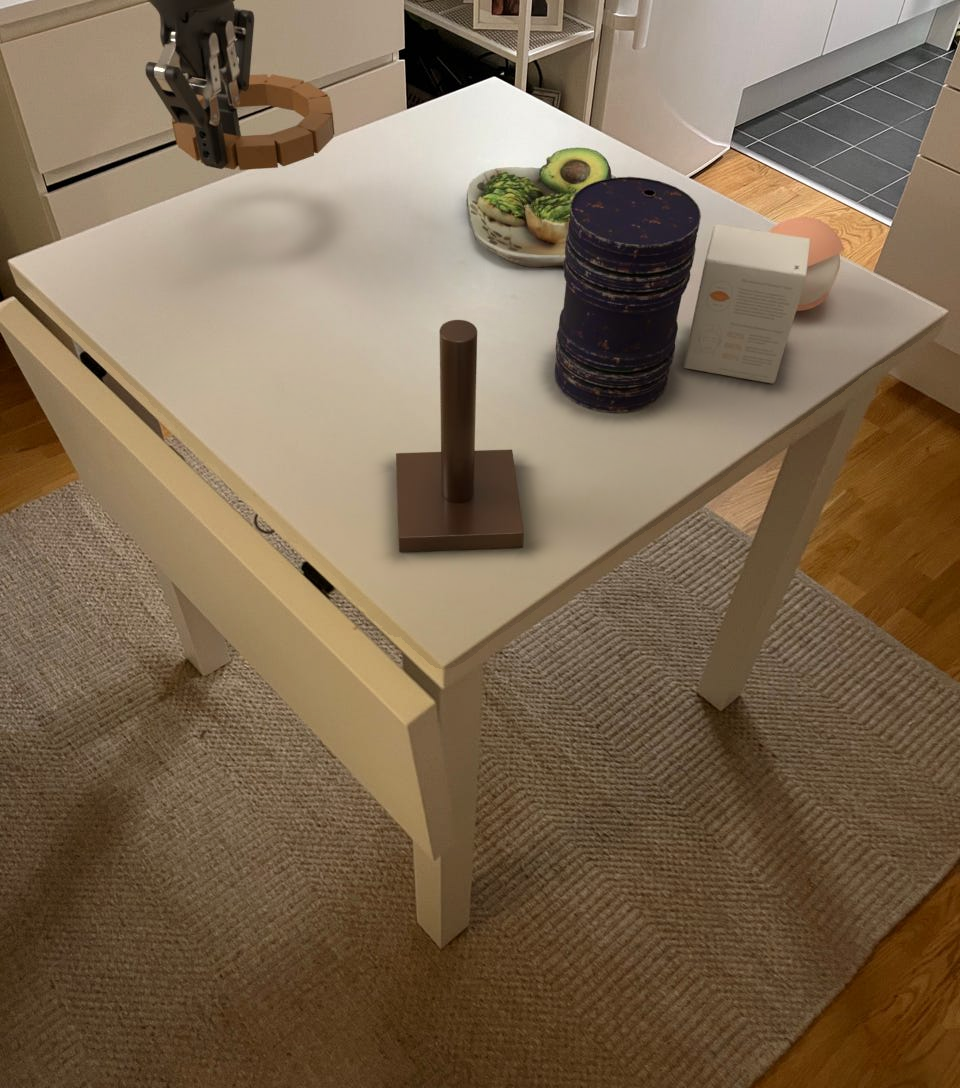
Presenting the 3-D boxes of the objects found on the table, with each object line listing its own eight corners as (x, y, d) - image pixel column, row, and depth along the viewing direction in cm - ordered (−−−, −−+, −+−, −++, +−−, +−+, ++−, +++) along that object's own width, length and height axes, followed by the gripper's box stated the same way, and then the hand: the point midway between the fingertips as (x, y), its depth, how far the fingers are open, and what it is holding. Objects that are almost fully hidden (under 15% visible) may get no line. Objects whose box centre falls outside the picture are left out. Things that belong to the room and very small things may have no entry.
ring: (176, 174, 85) (170, 150, 83) (177, 101, 93) (172, 78, 92) (340, 164, 87) (338, 140, 85) (326, 93, 95) (324, 70, 94)
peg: (399, 552, 72) (388, 377, 60) (396, 467, 78) (386, 291, 65) (522, 547, 73) (536, 373, 60) (511, 463, 78) (522, 287, 66)
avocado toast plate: (661, 285, 94) (669, 240, 90) (472, 287, 93) (472, 241, 89) (632, 181, 105) (638, 137, 102) (464, 182, 105) (464, 137, 101)
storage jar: (643, 428, 81) (675, 260, 69) (534, 391, 84) (547, 224, 72) (684, 361, 87) (720, 196, 75) (580, 329, 89) (599, 164, 77)
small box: (780, 348, 88) (814, 237, 80) (774, 386, 85) (809, 275, 76) (690, 331, 89) (714, 221, 81) (680, 369, 86) (705, 257, 78)
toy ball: (783, 338, 89) (808, 257, 83) (725, 295, 93) (744, 215, 87) (846, 310, 92) (875, 230, 86) (787, 270, 96) (810, 190, 89)
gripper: (184, -112, 78) (223, 117, 91) (82, -54, 69) (142, 187, 83) (270, -98, 76) (297, 132, 90) (176, -38, 68) (222, 205, 82)
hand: (222, 158), depth 86 cm, fingers closed on ring, 2 cm apart
